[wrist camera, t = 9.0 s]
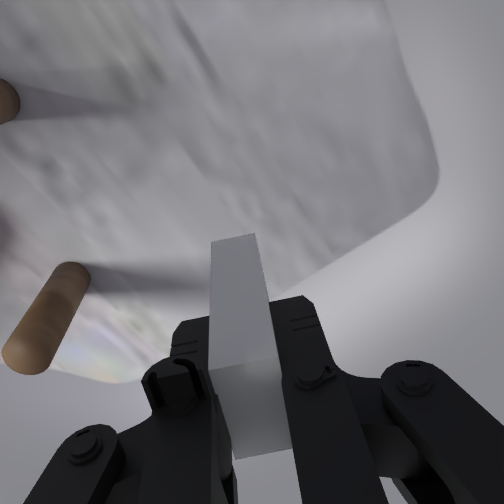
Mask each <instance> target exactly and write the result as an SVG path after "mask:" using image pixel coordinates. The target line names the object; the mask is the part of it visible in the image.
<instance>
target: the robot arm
mask: <svg viewBox="0 0 504 504" xmlns="http://www.w3.org/2000/svg"><path fill="white" fill-rule="evenodd" d="M171 347H172V348H171V351H170V357H168V358H165V359H162V360H161V361H159V362H157V363H156V364H154V365H152V366H151V367H150V368H149V369H148V370H147V372H146V373H145V374H144V376H143V378H142V380H141V383H142V385H143V388H144V391H145V393H146V396H147V398H148V401H149V403H150V406H151V409H152V415H151V416H150V417H149V418H148V419H146V420H145V421H143V422H141V423H140V424H138V425H136V426H134V427H132V428H130V429H127V430H125V431H123V432H121V433H119V434H117V433H116V431H115V430H114V429H113V428H111V427H110V426H108V425H103V424H97V425H91V426H87V427H85V428H83V429H81V430H78V431H76V432H75V433H74V434H72V435H71V436H70V437H68V438H67V439H66V440H65V441H64V442H63V444H61V446H60V447H59V448H58V449H57V451H56V453H55V454H54V456H53V457H52V459H51V460H50V462H49V463H48V465H47V467H46V468H45V470H44V472H43V473H42V475H41V476H40V478H39V479H38V481H37V482H36V484H35V486H34V487H33V489H32V491H31V492H30V494H29V495H28V497H27V498H26V500H25V501H24V503H23V504H238V493H237V479H236V475H235V472H234V469H233V465H232V450H233V454H234V457H235V459H241V458H246V457H251V456H256V455H261V454H266V453H271V452H277V451H282V450H286V449H292V448H293V453H294V459H295V464H296V470H297V475H298V481H299V487H300V492H301V498H302V504H389V503H388V500H387V497H386V495H385V492H384V489H383V486H382V483H381V481H380V478H379V476H380V477H390V478H392V481H393V483H394V484H395V486H396V487H397V489H398V490H399V491H400V493H401V494H402V496H403V497H404V499H405V500H406V501H407V503H408V504H504V426H503V425H502V424H501V423H500V422H499V421H498V420H496V419H495V418H494V417H493V416H492V415H491V414H490V413H489V412H488V411H486V410H485V409H484V408H483V407H482V406H481V405H480V404H479V403H478V402H477V401H475V400H474V399H473V398H472V397H471V396H470V395H469V394H468V393H466V391H464V390H463V389H462V388H461V387H460V386H459V385H458V384H457V383H456V382H454V381H453V380H452V379H451V378H450V377H449V376H448V375H447V374H446V373H445V372H443V371H442V370H441V369H439V368H438V367H436V366H434V365H433V364H430V363H426V362H423V361H415V360H414V361H413V360H407V361H402V362H398V363H395V364H393V365H391V366H390V367H388V368H386V370H385V371H384V373H383V374H382V376H381V378H364V377H357V376H354V375H350V374H348V373H346V372H344V371H342V370H341V369H340V368H339V367H338V366H337V365H336V364H335V362H334V360H333V358H332V355H331V352H330V350H329V347H328V344H327V341H326V338H325V335H324V332H323V330H322V327H321V324H320V321H319V318H318V316H317V313H316V310H315V307H314V304H313V303H312V302H311V301H309V300H308V299H307V298H305V297H304V296H303V295H302V296H297V297H292V298H287V299H282V300H278V301H273V302H269V298H268V293H267V288H266V284H265V279H264V274H263V269H262V265H261V260H260V255H259V250H258V246H257V241H256V236H255V233H253V234H248V235H243V236H239V237H234V238H229V239H224V240H219V241H215V242H211V272H210V315H209V316H206V317H201V318H196V319H191V320H186V321H182V322H181V323H180V324H179V326H178V327H177V329H176V330H175V331H174V333H173V337H172V344H171Z"/></svg>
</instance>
